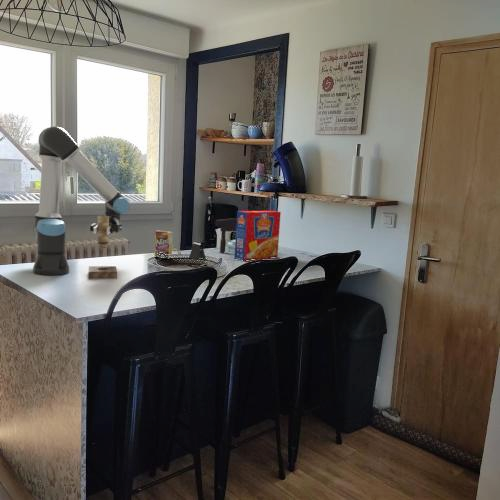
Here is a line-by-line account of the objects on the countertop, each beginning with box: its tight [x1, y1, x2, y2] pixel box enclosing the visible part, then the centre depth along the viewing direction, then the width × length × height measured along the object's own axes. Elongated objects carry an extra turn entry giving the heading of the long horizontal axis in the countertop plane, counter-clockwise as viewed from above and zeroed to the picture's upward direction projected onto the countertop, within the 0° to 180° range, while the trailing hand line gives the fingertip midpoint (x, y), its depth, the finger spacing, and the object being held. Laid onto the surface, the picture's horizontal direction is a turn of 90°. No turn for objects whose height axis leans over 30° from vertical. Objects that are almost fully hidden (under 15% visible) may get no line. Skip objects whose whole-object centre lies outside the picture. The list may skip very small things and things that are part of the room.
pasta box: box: [233, 210, 282, 262], centre depth 287 cm, size 28×8×28 cm, turn 134°
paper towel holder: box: [214, 217, 237, 254], centre depth 309 cm, size 16×21×33 cm
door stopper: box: [188, 241, 207, 260], centre depth 256 cm, size 9×6×12 cm, turn 135°
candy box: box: [154, 230, 174, 257], centre depth 269 cm, size 9×4×15 cm, turn 72°
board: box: [88, 265, 118, 279], centre depth 220 cm, size 12×12×3 cm
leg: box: [97, 215, 109, 251], centre depth 217 cm, size 5×5×15 cm
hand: (101, 231), depth 211 cm, fingers closed on leg, 5 cm apart
